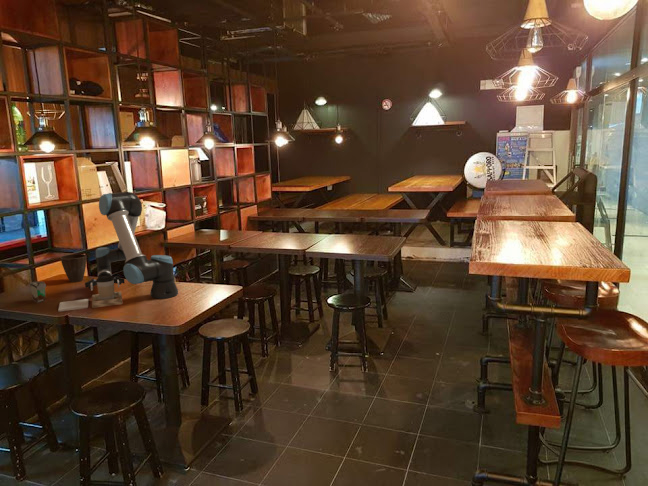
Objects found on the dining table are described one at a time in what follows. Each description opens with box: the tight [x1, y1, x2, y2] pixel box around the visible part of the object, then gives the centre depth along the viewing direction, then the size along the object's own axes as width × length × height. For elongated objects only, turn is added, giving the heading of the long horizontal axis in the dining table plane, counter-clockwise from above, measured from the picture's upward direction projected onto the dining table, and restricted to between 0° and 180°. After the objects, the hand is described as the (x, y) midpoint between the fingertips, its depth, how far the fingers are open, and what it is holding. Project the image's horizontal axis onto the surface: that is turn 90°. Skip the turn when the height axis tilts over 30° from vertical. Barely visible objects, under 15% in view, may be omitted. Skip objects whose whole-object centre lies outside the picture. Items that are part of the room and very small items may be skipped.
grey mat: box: [57, 298, 89, 312], centre depth 267 cm, size 14×14×1 cm
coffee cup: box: [95, 274, 115, 301], centre depth 272 cm, size 9×9×15 cm
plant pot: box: [59, 253, 87, 283], centre depth 316 cm, size 15×15×16 cm
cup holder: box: [91, 291, 124, 309], centre depth 273 cm, size 15×15×3 cm
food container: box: [29, 281, 47, 304], centre depth 276 cm, size 12×6×10 cm, turn 47°
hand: (105, 286), depth 271 cm, fingers open, 13 cm apart
